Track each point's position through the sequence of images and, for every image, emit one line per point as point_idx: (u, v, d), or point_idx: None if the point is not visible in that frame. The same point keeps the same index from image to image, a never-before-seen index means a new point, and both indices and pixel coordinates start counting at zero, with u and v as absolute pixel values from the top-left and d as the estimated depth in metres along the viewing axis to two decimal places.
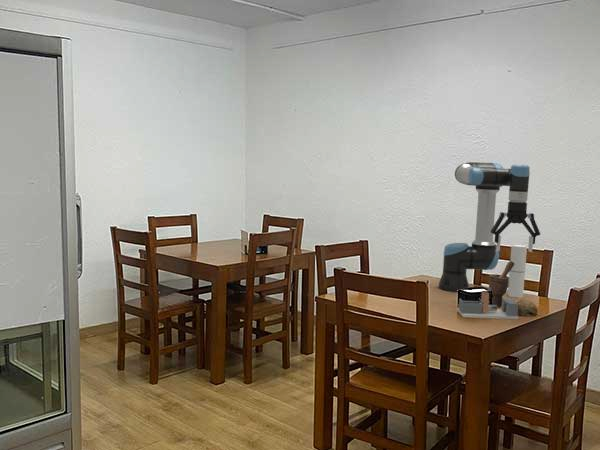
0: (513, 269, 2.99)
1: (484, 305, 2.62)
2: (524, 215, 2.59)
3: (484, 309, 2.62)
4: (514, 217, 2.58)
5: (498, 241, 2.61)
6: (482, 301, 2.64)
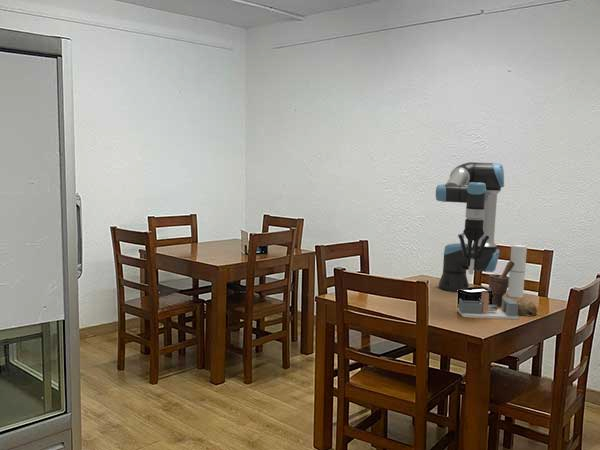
0: (513, 269, 2.99)
1: (484, 305, 2.62)
2: (481, 232, 2.60)
3: (484, 309, 2.62)
4: (471, 235, 2.59)
5: (470, 264, 2.61)
6: (482, 301, 2.64)
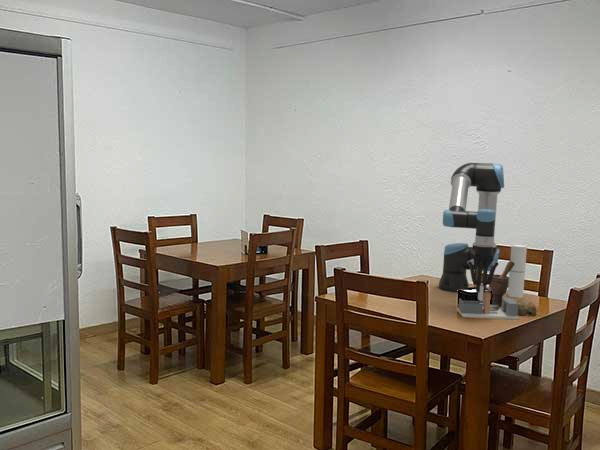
0: (513, 269, 2.99)
1: (486, 305, 2.62)
2: (490, 259, 2.61)
3: (486, 309, 2.62)
4: (481, 261, 2.60)
5: (479, 291, 2.63)
6: (484, 301, 2.64)
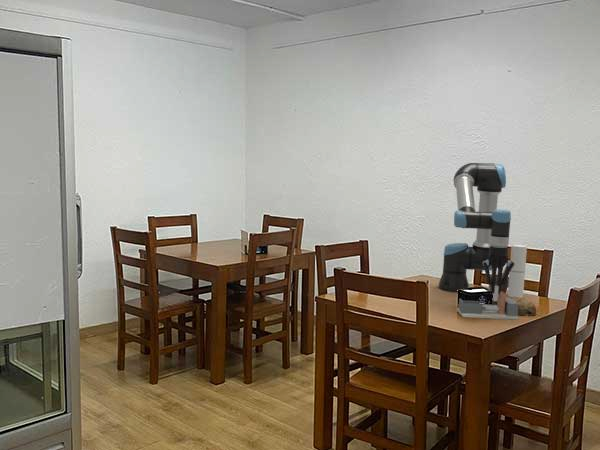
0: (513, 269, 2.99)
1: (501, 306, 2.62)
2: (505, 260, 2.61)
3: (501, 310, 2.62)
4: (496, 262, 2.60)
5: (494, 291, 2.62)
6: (498, 302, 2.64)
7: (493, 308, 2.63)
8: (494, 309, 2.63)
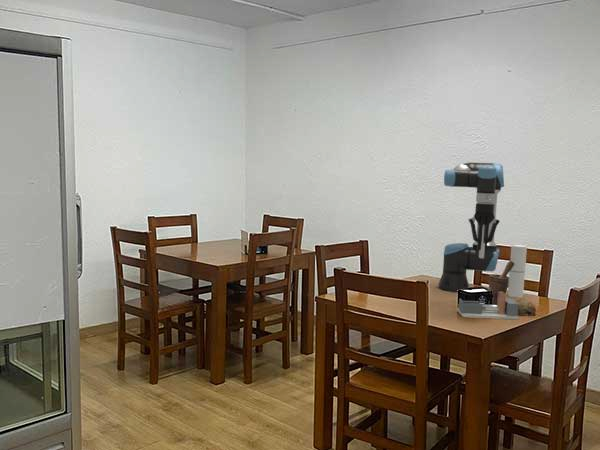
0: (513, 269, 2.99)
1: (501, 306, 2.62)
2: (491, 216, 2.61)
3: (501, 310, 2.62)
4: (482, 219, 2.60)
5: (480, 248, 2.62)
6: (498, 302, 2.64)
7: (493, 308, 2.63)
8: (494, 309, 2.63)
